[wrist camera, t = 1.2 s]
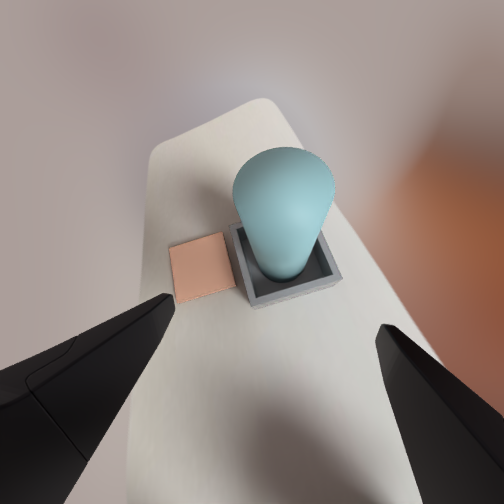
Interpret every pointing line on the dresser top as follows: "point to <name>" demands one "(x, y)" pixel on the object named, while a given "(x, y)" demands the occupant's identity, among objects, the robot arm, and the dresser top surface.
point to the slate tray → (268, 292)
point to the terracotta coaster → (201, 267)
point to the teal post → (283, 208)
